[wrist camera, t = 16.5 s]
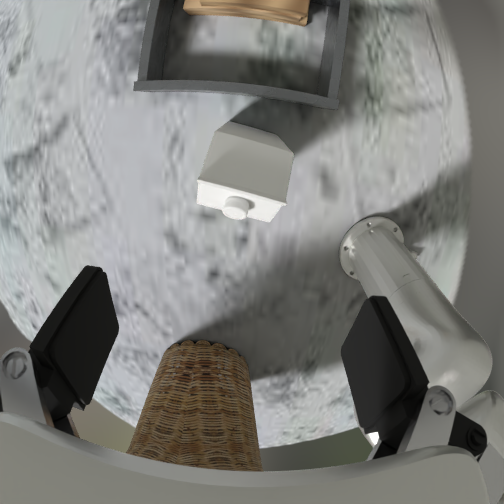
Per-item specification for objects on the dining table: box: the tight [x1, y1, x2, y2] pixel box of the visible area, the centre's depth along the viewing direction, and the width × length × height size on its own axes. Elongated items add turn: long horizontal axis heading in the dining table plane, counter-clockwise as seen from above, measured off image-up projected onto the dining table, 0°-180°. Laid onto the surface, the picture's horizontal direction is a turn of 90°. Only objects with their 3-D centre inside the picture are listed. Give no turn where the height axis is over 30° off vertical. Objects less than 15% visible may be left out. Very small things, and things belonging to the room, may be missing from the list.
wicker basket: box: [126, 340, 264, 472], centre depth 47 cm, size 35×35×33 cm
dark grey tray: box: [133, 0, 350, 110], centre depth 25 cm, size 24×18×7 cm
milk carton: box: [197, 121, 294, 222], centre depth 28 cm, size 7×7×19 cm
